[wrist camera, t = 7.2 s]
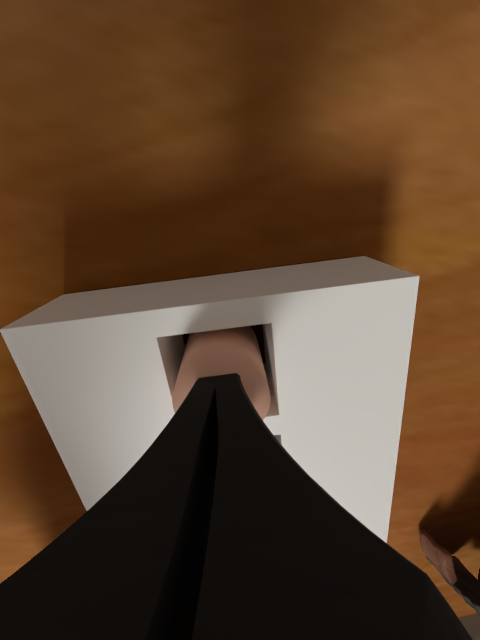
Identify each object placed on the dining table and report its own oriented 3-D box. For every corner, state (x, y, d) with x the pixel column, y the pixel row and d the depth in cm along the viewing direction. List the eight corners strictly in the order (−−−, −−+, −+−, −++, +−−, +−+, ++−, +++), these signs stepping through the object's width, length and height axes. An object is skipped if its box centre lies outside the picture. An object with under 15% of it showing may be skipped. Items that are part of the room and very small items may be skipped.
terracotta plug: (261, 373, 13) (273, 433, 10) (193, 382, 13) (182, 445, 10) (254, 310, 12) (266, 353, 9) (180, 320, 12) (162, 366, 9)
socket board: (353, 494, 19) (384, 564, 15) (146, 521, 19) (127, 596, 15) (364, 255, 13) (419, 276, 9) (63, 294, 13) (-1, 329, 9)
